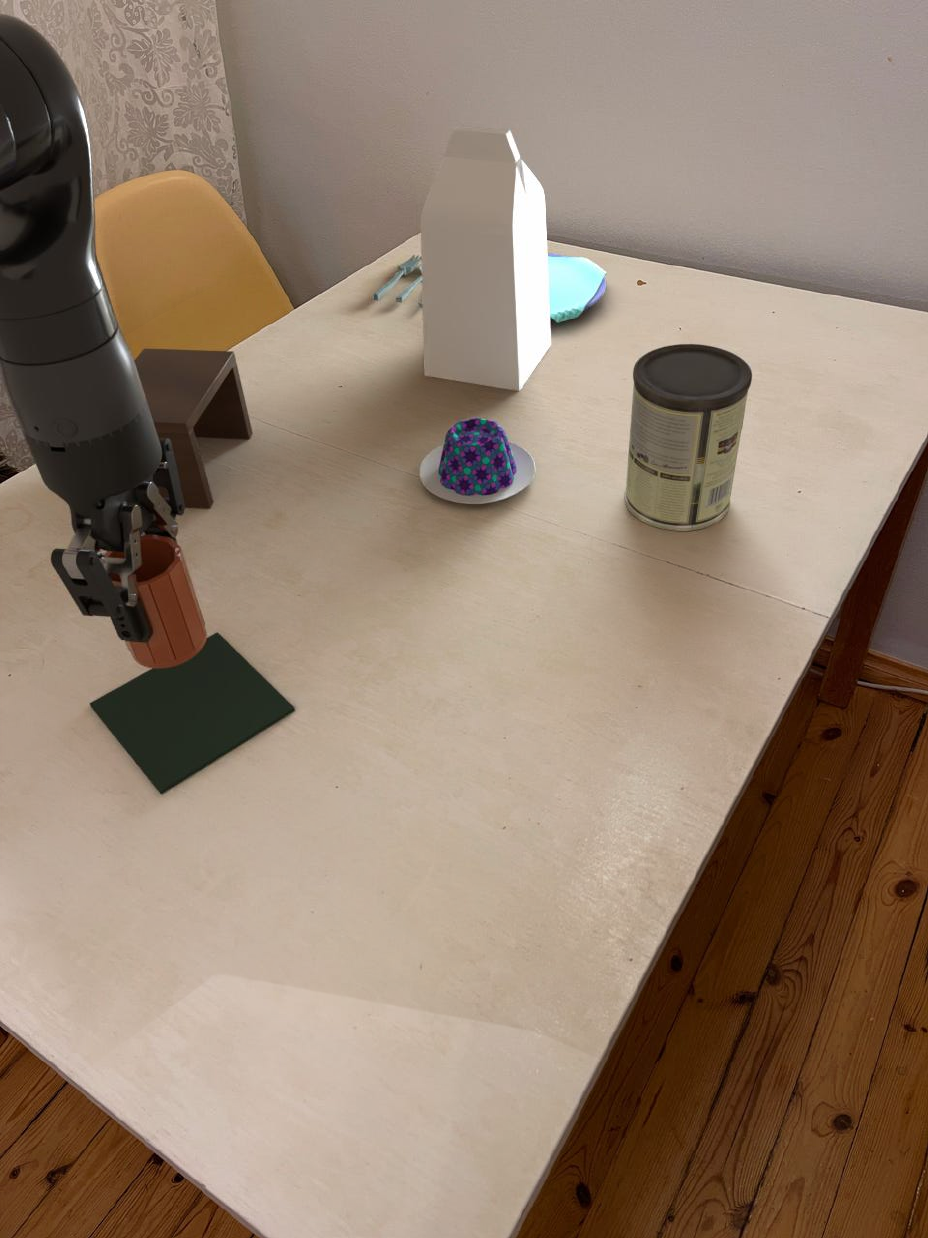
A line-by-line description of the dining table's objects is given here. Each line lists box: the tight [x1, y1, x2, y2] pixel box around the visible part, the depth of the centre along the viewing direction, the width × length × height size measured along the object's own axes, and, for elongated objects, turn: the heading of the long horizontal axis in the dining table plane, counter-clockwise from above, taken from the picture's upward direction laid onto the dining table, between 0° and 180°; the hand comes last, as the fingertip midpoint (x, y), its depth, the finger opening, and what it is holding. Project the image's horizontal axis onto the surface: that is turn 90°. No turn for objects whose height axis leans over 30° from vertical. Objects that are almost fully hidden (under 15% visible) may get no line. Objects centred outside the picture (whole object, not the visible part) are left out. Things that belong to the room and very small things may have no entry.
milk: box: [420, 125, 552, 392], centre depth 108 cm, size 12×12×26 cm
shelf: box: [134, 347, 254, 510], centre depth 100 cm, size 14×10×10 cm
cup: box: [103, 534, 208, 669], centre depth 70 cm, size 6×6×8 cm
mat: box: [89, 631, 296, 795], centre depth 78 cm, size 12×12×1 cm
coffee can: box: [624, 343, 753, 532], centre depth 90 cm, size 10×10×14 cm
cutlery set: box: [372, 252, 608, 323], centre depth 129 cm, size 20×30×2 cm, turn 69°
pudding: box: [418, 417, 537, 505], centre depth 98 cm, size 12×12×5 cm
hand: (155, 606), depth 70 cm, fingers closed on cup, 6 cm apart
